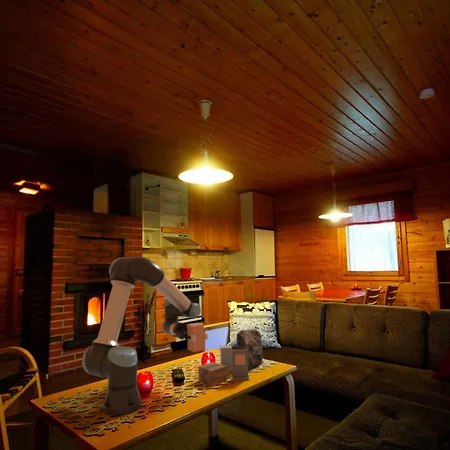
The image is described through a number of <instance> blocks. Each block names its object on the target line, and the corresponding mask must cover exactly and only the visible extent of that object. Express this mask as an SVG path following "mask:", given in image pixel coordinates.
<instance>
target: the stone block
mask: <svg viewBox="0 0 450 450" xmlns="http://www.w3.org/2000/svg"><path fill="white" fill-rule="evenodd" d="M246 349H248V369H252V368H255V367H257V366H258V365H259V366H260V365H261V364H263V363H264V361H263V358H264V353H263V351H264V350H263V349H264V346H263V341H262V336H261V333H260V331H259V330H258V329H256V328H254V329H253V328H250V329H241V330H239V331H238V332H237V333H236V347H235V350H246Z"/></svg>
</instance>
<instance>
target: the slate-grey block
mask: <svg viewBox="0 0 450 450" xmlns="http://www.w3.org/2000/svg"><path fill="white" fill-rule="evenodd" d="M219 347H220V364H221V365H224V366H227V372H229V371H230V372H232V350H233V346H232V345H231V344H224V345H223V344H222V345H219Z"/></svg>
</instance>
